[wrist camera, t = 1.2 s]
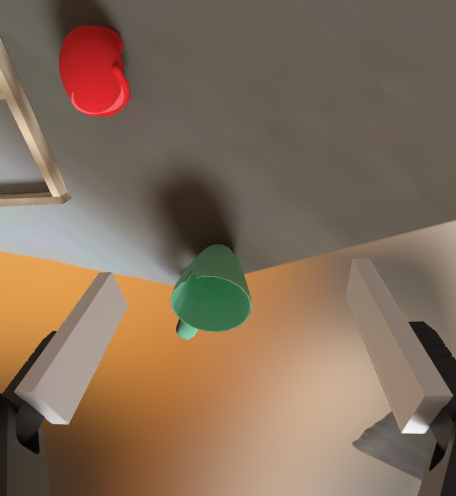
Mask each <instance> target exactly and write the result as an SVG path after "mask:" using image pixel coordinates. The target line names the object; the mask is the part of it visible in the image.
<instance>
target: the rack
mask: <svg viewBox="0 0 456 496" xmlns="http://www.w3.org/2000/svg"><path fill="white" fill-rule="evenodd" d="M0 99H6V101H7V103H8V105H9V107H10V109H11V111H12V113H13V115H14V118H15V120H16V122H17V124H18V126H19V128H20V130H21V132H22V134H23V136H24V138H25V140H26V142H27V144H28V147H29V149H30V151H31V153H32V155H33V157H34V159H35V161H36V163H37V165H38V167H39V169H40V171H41V173H42V176H43V178H44V180H45V182H46V184H47V186H48V188H49V190H50V192H40V193H17V194H0V206H21V205H47V204H64V203H65V202H67V201H68V200H69V199H71V197H70V194H69V192H68V190H67V188H66V185H65V183H64V181H63V179H62V176H61V174H60V172H59V170H58V167H57V165H56V163H55V160H54V158H53V156H52V154H51V151H50V149H49V147H48V145H47V142H46V140H45V138H44V135H43V133H42V131H41V129H40V126H39V124H38V122H37V120H36V117H35V115H34V113H33V111H32V108H31V106H30V104H29V101H28V99H27V97H26V95H25V92H24V90H23V88H22V86H21V83H20V81H19V79H18V77H17V74H16V72H15V70H14V67H13V65H12V63H11V61H10V58H9V56H8V54H7V52H6V49H5V47H4V45H3V43H2V40H1V38H0Z"/></svg>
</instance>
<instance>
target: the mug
mask: <svg viewBox="0 0 456 496" xmlns="http://www.w3.org/2000/svg"><path fill="white" fill-rule="evenodd" d="M171 305H172V309H173V310H174V312H175V314H176V315H177V317H178V318H179V322H178V324H177V327H176V331H177V334H178V336H180V337H181V338H183V339H187V340H189V339H192V337H193V336H194V335H195V334H196V332H197V330H198V329H199V330H203V331H210V332H221V331H228V330H231V329H233V328H236V327H238V326H239V325H241V324H242V323H243V322H245V321H246V319H247V318H248V316H249V315H250V312H251V305H252V304H251V296H250V293H249V290H248V286H247V283H246V280H245V276H244V273H243V270H242V268H241V266H240V263H239V261H238V259H237V258H236V256H235V255H234V253H233V252H232V251H231V249H230V248H228V247H227V246H225V245H222V244H214V245H210V246H209V247H207V248H206V249H204V250H203V251H202V252H201V253H200V254H199V255H198V256H197V257H196V258H195V259H194V260H193V262H192V263H191V264H190V265H189V266H188V267H187V269H186V270H185V271H184V273H183V274H182V276H181V277H180V279H179V280H178V282H177V283H176V285H175V288H174V291H173V293H172V297H171Z"/></svg>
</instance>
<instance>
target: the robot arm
mask: <svg viewBox="0 0 456 496" xmlns="http://www.w3.org/2000/svg"><path fill="white" fill-rule="evenodd" d="M346 300H347V302H348V305H349V307H350V309H351V312H352V314H353V317H354V319H355V322H356V324H357V326H358V329H359V331H360V334H361V336H362V338H363V341H364V343H365V346H366V348H367V351H368V353H369V356H370V358H371V361H372V363H373V365H374V368H375V370H376V373H377V375H378V378H379V380H380V382H381V385H382V387H383V390H384V392H385V395H386V397H387V400H388V402H389V404H390V407H391V409H392V412H393V414H394V417H395V419H396V421H397V424H398V426H399V429H400V431H401V433H421V434H424V433H425V432H426V431H427V430H428V428H429V427H430V428H431V430H432V432H433V434H434V436H435V438H436V439H435V440H434V441H433V442H432V443H431V445H430V446H429V447H428V449H427V450H428V451H429V452H431V453H430V456H429V459H428V463H427V466H426V469H425V473H424V476H423V479H422V483H421V486H420V490H419V493H418V496H456V360H455V358H454V357H452V354H451V352H450V351H449V350H448V348H447V347H445V344H444V342H443V341H442V339H441V338H440V337H439V335H438V334H437V332H436V331H435V330H433V329H432V328H431V327H430V326H428V325H427V324H426V323H425V322H423V321H421V322H408V321H407V320H406V318H405V316H404V315H403V313H402V311H401V310H400V308H399V307H398V305H397V303H396V302H395V300H394V298H393V297H392V295H391V294H390V292H389V290H388V289H387V287H386V285H385V284H384V282H383V281H382V279H381V277H380V276H379V274H378V272H377V271H376V269H375V267H374V266H373V264H372V263H371V261H370V259H369V258H362V259H353V261H352V266H351V272H350V276H349V282H348V287H347V292H346ZM127 307H128V304H127V302H126V300H125V298H124V296H123V294H122V292H121V290H120V288H119V286H118V284H117V282H116V280H115V278H114V276H113V274H112V272H106V273H99V274H98V275H97V277H96V278H95V279H94V281H93V282H92V284H91V285H90V286H89V288H88V289H87V291H86V292H85V293H84V295H83V296H82V297H81V299H80V301H79V302H78V303H77V304H76V306H75V307H74V309H73V310H72V311H71V313H70V314H69V316H68V317H67V318H66V320H65V321H64V323H63V324H62V325H61V327H60V328H59V330H58V331H52V332H51V333H50V334H49V335H48V336H47V337H46V338H44V339H43V340H42V342H41V343H40V344H39V345H38V347H37V348H36V349H35V352H34V353H33V354H32V355H31V356H30V357H29V359H28V361H26V363H25V364H24V365H23V367H22V368H21V369H20V371H19V372H18V373H17V375H16V376H15V377H14V379H13V380H12V381H11V383H10V384H9V386H8V387H7V388H6V389H5V391H4V392H3V393H2V394H1V393H0V496H50V488H49V478H48V467H47V458H46V447H45V437H44V429H43V427H42V425H41V424H42V422H43V420H44V418H46V419H47V420H49V421H50V422H51V423H52V424H69V422H70V420H71V418H72V416H73V414H74V412H75V410H76V408H77V406H78V404H79V402H80V400H81V398H82V396H83V394H84V392H85V390H86V388H87V386H88V384H89V382H90V380H91V378H92V376H93V374H94V372H95V370H96V368H97V366H98V364H99V362H100V360H101V358H102V356H103V354H104V352H105V351H106V349H107V347H108V344H109V343H110V340H111V338H112V336H113V335H114V333H115V330H116V329H117V327H118V325H119V322H120V321H121V319H122V317H123V315H124V313H125V311H126V309H127Z"/></svg>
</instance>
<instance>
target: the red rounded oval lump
mask: <svg viewBox="0 0 456 496" xmlns="http://www.w3.org/2000/svg"><path fill="white" fill-rule="evenodd" d="M122 51H123V41H122V39H121V37H120V36H119V34H118V33H116V32H115V31H113V30H112V29H109V28H107V27H103V26H89V25H85V26H80V27H78V28H76V29H74V30H72V31H71V32H70V33H69V34H68V35H67V36H66V37H65V39H64V42H63V44H62V47H61V51H60V57H59V70H60V76H61V80H62V83H63V86H64V88H65V91H66V92H67V94H68V96H69V97H70V99H71V101H72V104H73V105H74V107H75V108H76V109H78V110H79V111H81V112H82V113H84V114H86V115H89V116H99V117H103V116H111V115H114V114H116V113H118V112H119V111H120V110H121V109H122V108H124V107H125V106H126V104H127V102H128V101H129V100H130V98H131V97H130V94H129V93H130V88H129V84H128V82H127V80H126V78H125V76H124V68H123V62H122V58H121V55H120V54H121V53H122Z"/></svg>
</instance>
